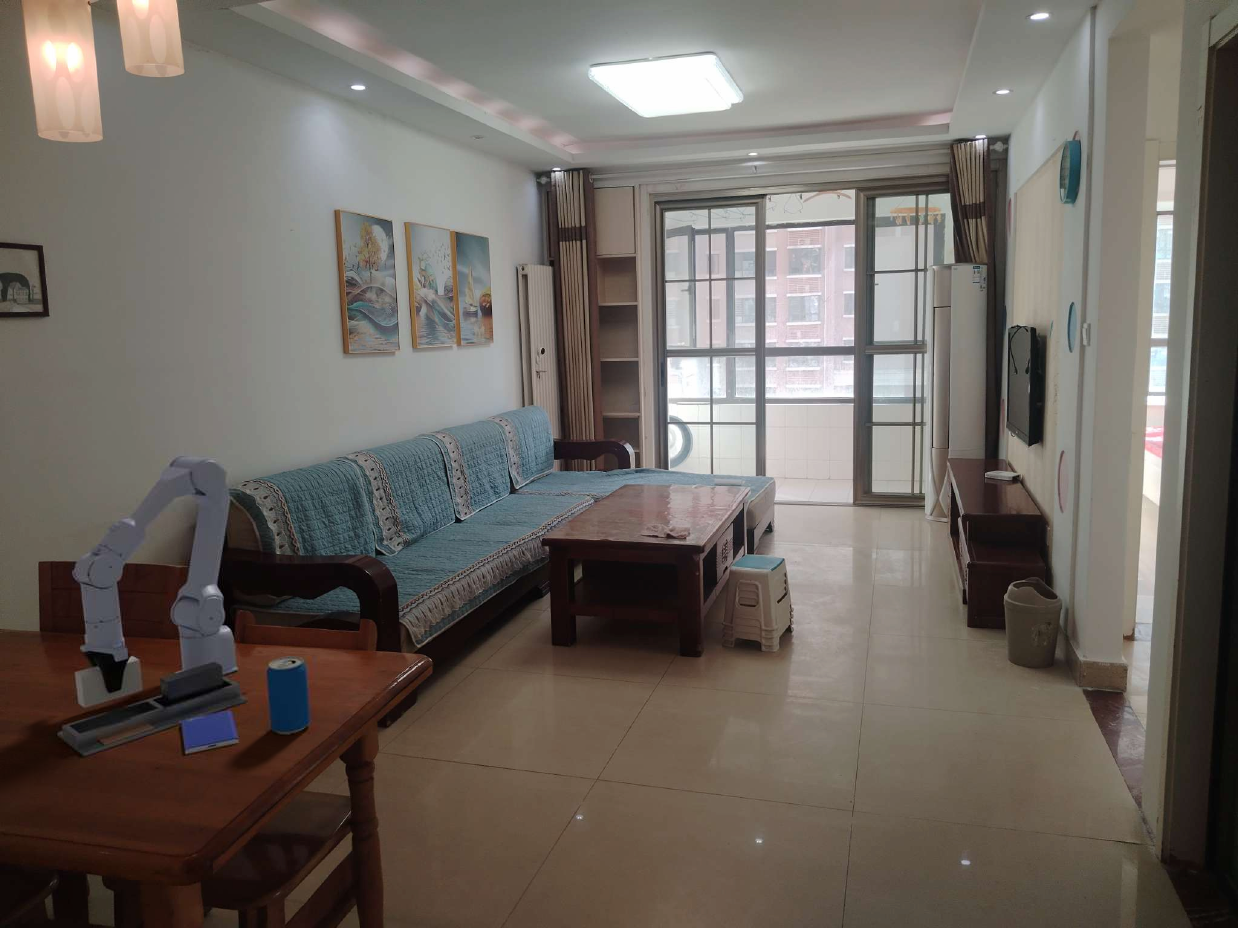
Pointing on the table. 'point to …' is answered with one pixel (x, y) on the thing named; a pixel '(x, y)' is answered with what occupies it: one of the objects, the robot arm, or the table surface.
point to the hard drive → (209, 732)
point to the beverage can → (288, 695)
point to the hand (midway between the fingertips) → (110, 688)
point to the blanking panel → (94, 687)
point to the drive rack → (156, 710)
